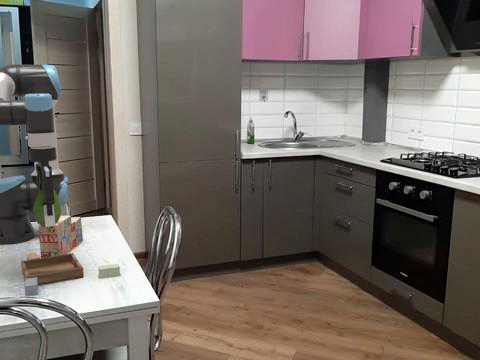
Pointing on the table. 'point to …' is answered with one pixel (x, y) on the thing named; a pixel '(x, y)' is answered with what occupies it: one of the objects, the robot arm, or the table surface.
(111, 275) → the sage brick
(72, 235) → the stack of blocks
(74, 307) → the table surface
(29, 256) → the terracotta brick
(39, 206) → the fruit
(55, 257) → the tray
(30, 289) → the slate brick
